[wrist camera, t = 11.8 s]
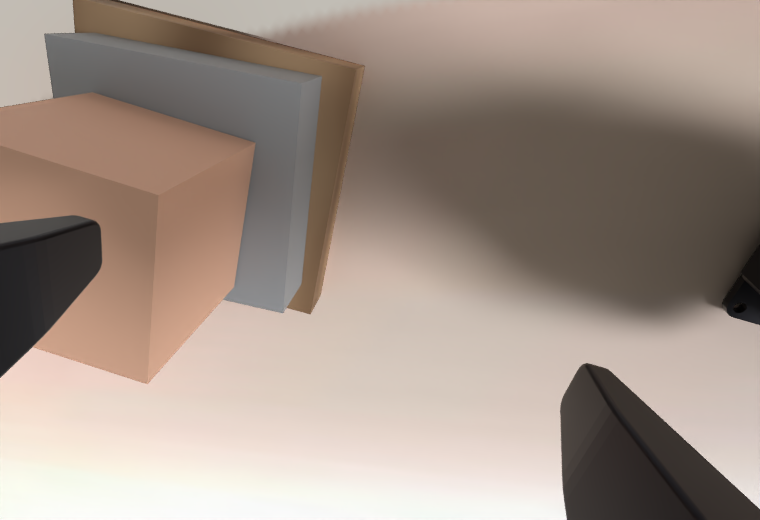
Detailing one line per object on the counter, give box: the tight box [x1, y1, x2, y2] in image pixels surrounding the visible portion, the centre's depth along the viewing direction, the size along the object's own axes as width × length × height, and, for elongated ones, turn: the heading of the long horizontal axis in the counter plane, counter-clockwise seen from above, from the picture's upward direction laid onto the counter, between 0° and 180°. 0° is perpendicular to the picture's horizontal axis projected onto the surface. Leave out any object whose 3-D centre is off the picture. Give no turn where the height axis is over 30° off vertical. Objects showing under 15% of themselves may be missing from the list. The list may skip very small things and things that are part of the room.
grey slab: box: [44, 33, 322, 313], centre depth 19 cm, size 9×9×2 cm
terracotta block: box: [0, 92, 256, 384], centre depth 16 cm, size 6×6×6 cm
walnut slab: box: [73, 0, 365, 314], centre depth 22 cm, size 11×11×2 cm
